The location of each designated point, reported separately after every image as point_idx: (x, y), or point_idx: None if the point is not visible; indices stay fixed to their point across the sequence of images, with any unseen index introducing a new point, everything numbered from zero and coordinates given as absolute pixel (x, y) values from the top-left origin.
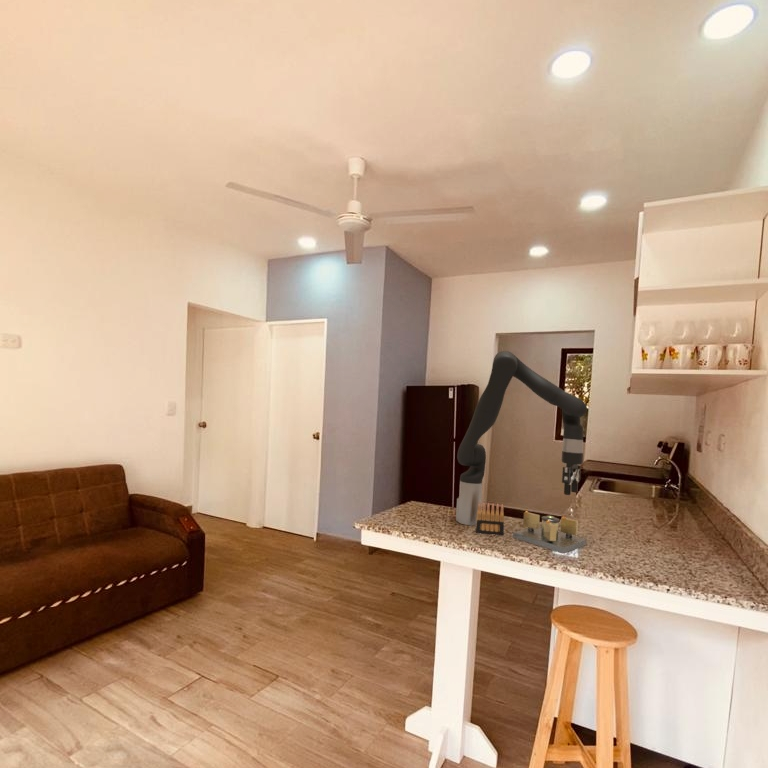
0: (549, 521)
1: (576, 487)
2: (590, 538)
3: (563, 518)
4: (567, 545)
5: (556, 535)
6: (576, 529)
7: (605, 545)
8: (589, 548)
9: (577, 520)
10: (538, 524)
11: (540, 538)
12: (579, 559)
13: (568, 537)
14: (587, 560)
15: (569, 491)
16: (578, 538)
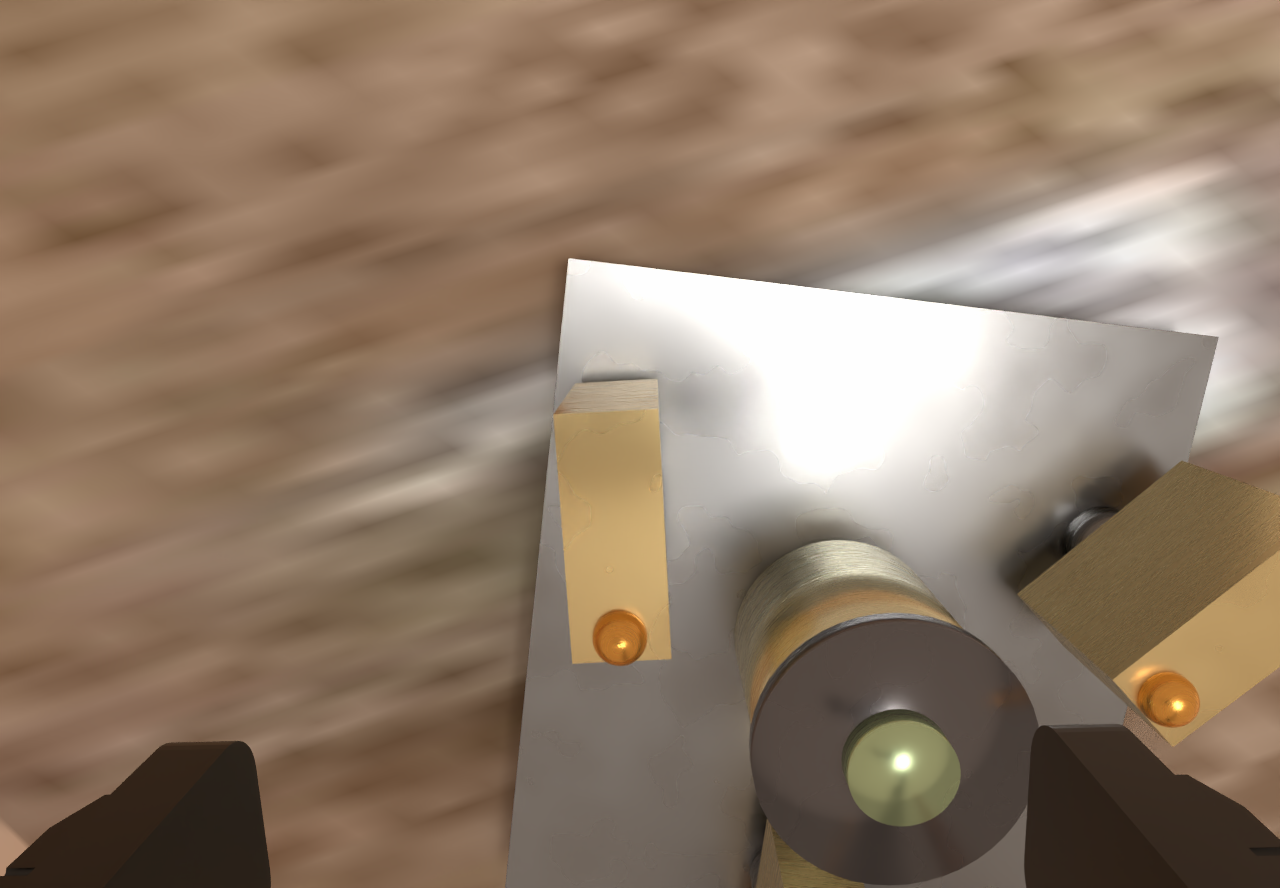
0: (1179, 684)
1: (141, 886)
2: (214, 323)
3: (652, 630)
4: (1081, 336)
5: (876, 556)
6: (640, 390)
7: (359, 83)
8: (689, 185)
9: (563, 424)
10: (795, 852)
11: (1051, 665)
12: (1256, 121)
13: (687, 456)
14: (1219, 41)
15: (1182, 814)
16: (615, 352)
